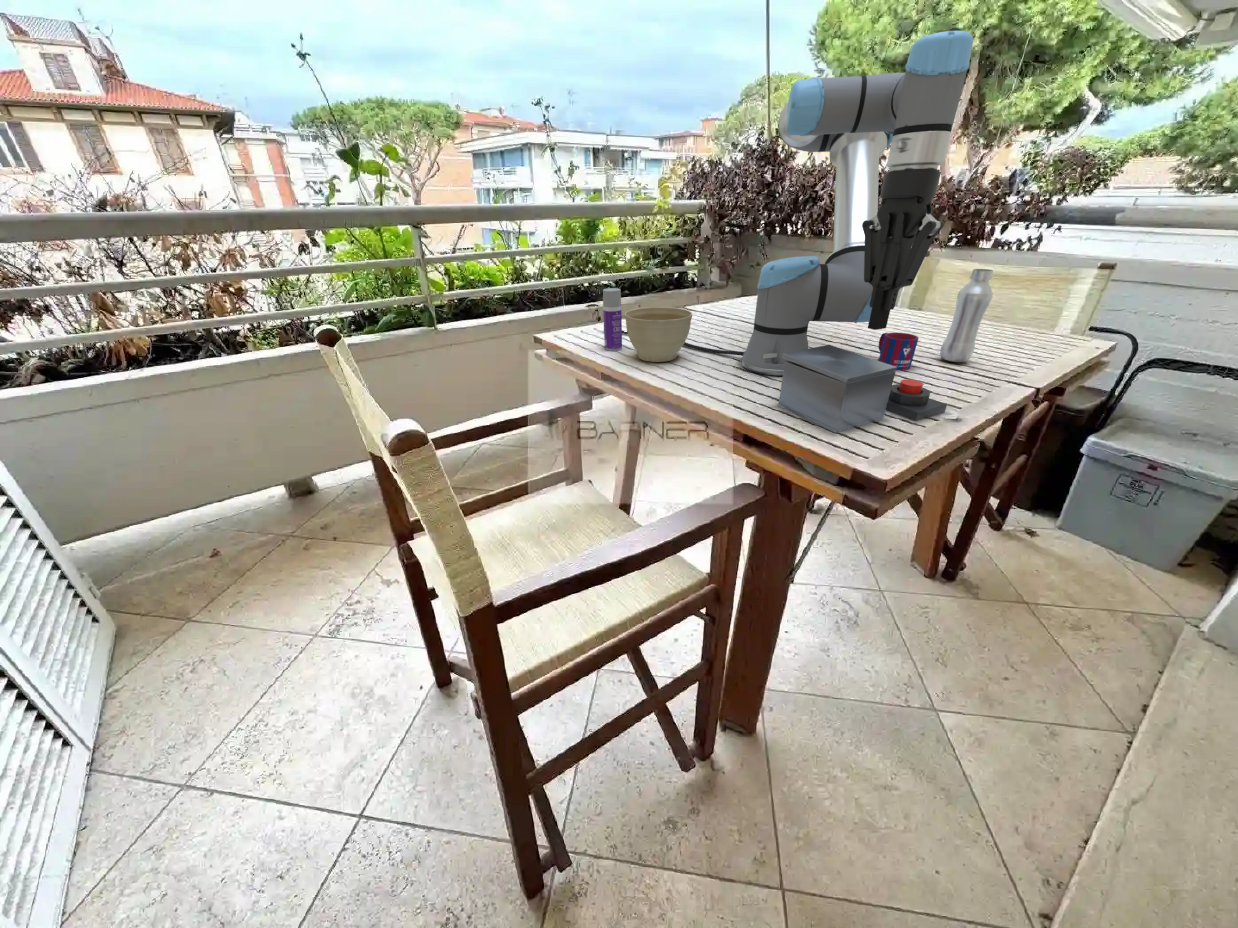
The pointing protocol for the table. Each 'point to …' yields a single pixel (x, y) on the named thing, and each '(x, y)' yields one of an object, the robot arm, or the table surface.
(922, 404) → the button base
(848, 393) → the tin
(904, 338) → the mug
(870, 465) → the table surface
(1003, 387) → the table surface
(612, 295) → the container
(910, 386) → the button
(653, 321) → the planter bowl
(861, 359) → the lid
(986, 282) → the silver metal bottle
